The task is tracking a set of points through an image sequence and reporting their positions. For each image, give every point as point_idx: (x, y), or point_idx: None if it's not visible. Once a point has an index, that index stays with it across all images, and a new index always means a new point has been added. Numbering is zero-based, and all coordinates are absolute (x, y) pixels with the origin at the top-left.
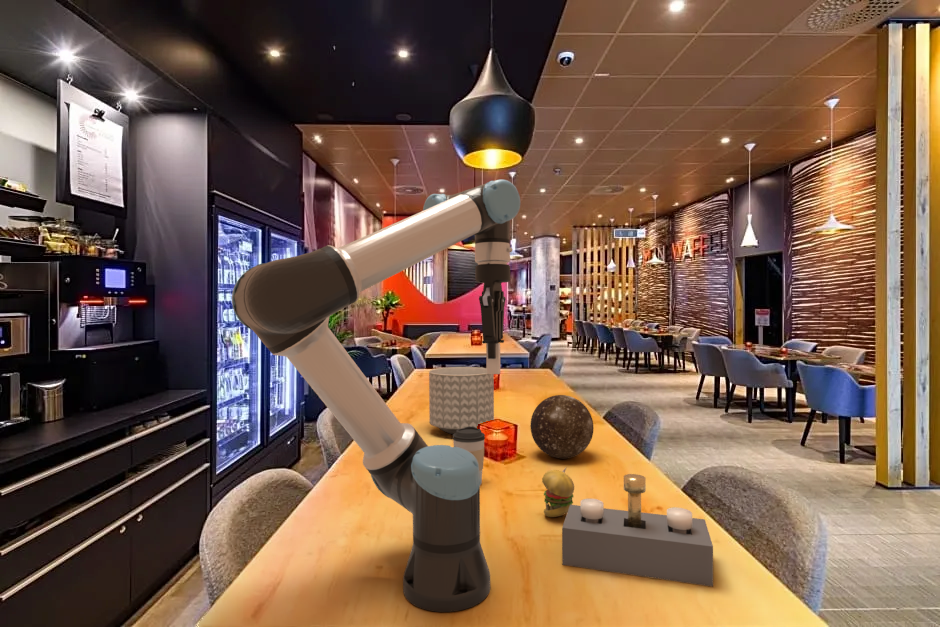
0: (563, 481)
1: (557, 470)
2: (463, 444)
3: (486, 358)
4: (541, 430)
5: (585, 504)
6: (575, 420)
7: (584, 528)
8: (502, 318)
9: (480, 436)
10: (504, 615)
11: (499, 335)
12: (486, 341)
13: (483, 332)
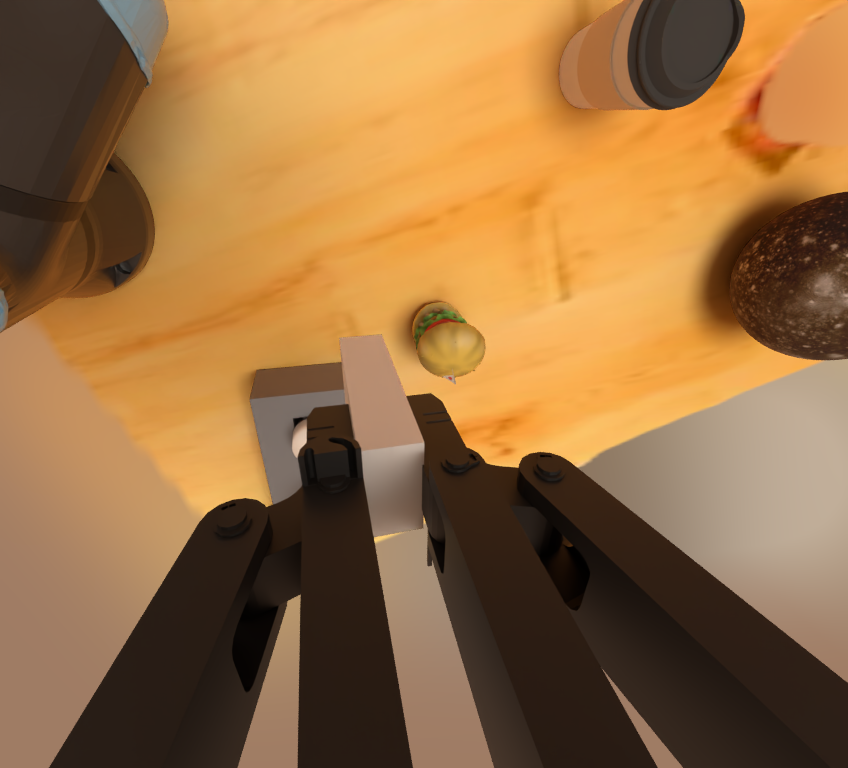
0: (436, 369)
1: (469, 356)
2: (627, 37)
3: (347, 382)
4: (795, 240)
5: (299, 440)
6: (793, 335)
7: (265, 429)
8: (670, 747)
9: (662, 97)
10: (53, 331)
11: (440, 583)
12: (303, 490)
13: (159, 603)
